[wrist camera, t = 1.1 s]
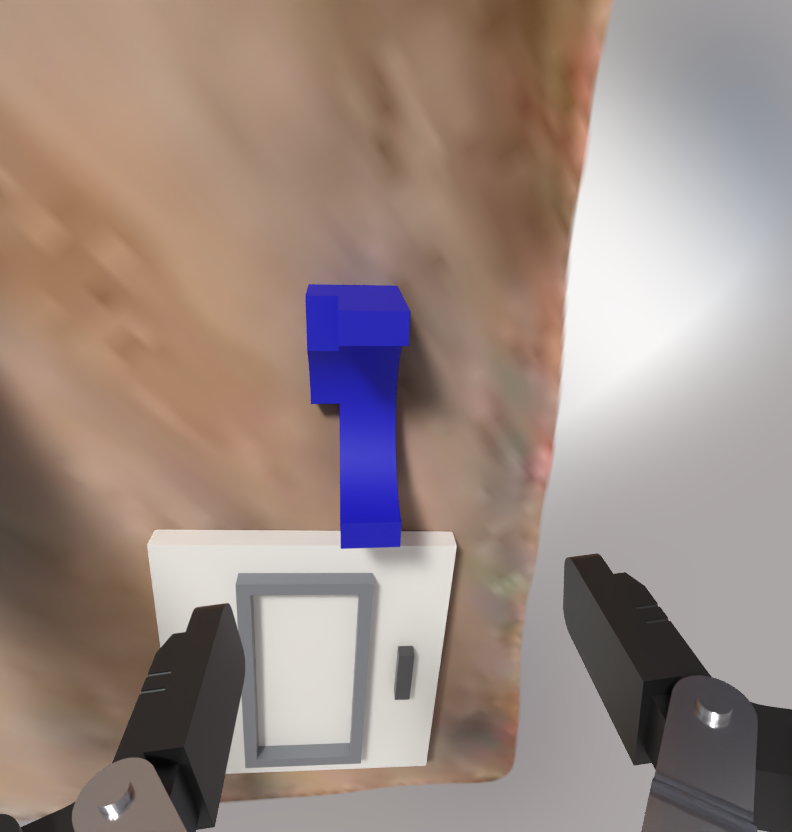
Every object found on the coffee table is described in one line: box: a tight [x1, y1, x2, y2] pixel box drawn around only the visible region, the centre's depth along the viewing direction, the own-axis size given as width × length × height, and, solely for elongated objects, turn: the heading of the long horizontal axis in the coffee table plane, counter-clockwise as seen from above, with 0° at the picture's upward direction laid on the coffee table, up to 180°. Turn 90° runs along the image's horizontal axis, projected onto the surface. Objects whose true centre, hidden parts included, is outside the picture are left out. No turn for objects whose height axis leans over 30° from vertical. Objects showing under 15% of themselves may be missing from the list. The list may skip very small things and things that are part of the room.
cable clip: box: [306, 285, 410, 549], centre depth 28 cm, size 12×4×6 cm, turn 178°
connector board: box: [147, 530, 457, 774], centre depth 37 cm, size 18×20×2 cm
